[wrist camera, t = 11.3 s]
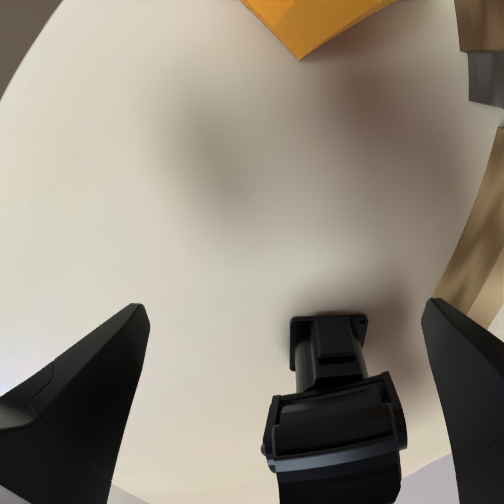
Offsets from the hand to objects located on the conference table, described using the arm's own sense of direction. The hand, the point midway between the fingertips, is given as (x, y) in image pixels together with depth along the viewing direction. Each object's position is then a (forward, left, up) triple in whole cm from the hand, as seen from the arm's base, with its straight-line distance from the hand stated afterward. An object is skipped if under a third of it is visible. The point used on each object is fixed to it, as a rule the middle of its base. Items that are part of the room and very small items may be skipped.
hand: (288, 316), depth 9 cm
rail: (-1, -17, -12) cm, 21 cm away
